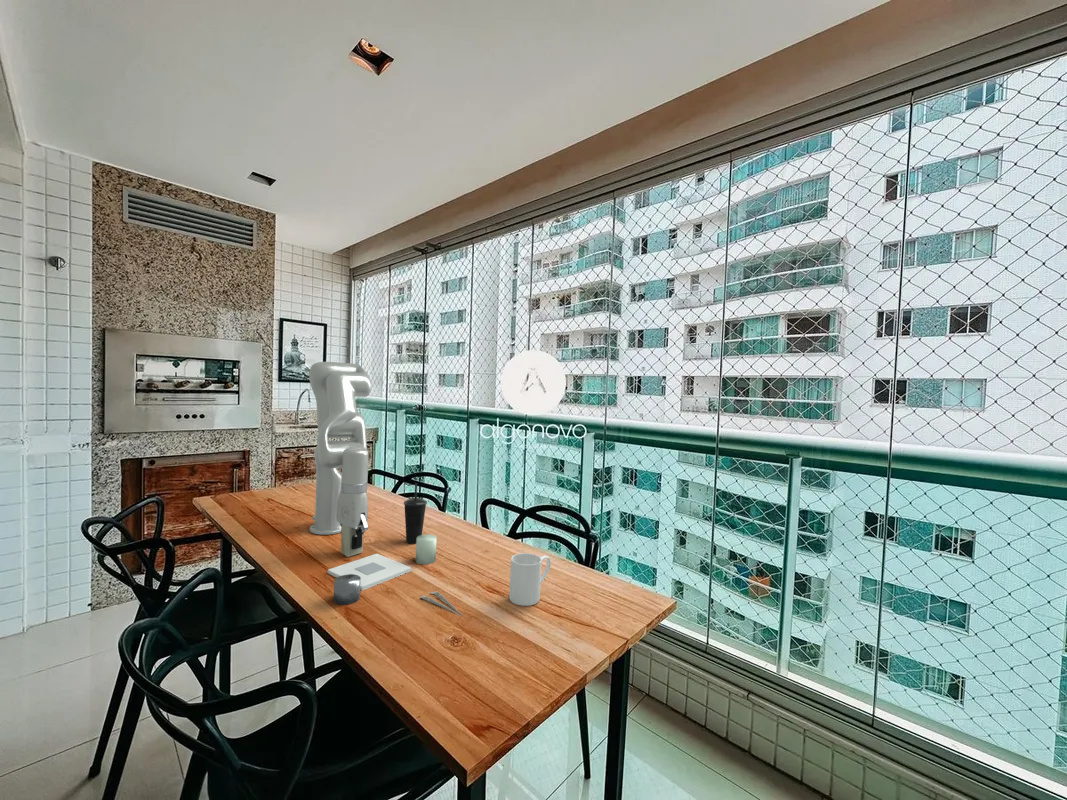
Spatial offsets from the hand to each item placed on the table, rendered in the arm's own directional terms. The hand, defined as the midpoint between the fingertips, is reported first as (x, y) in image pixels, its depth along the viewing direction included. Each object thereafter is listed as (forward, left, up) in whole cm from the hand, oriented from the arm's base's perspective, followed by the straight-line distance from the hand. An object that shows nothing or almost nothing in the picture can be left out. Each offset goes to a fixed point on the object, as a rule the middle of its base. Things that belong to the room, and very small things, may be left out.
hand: (351, 545), depth 138 cm
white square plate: (+16, -4, -3) cm, 16 cm away
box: (0, 0, -3) cm, 3 cm away
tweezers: (+46, -4, -4) cm, 47 cm away
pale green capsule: (+21, +12, -3) cm, 24 cm away
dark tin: (+25, -17, -3) cm, 30 cm away
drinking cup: (+6, +20, -3) cm, 21 cm away
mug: (+59, +14, -3) cm, 60 cm away
